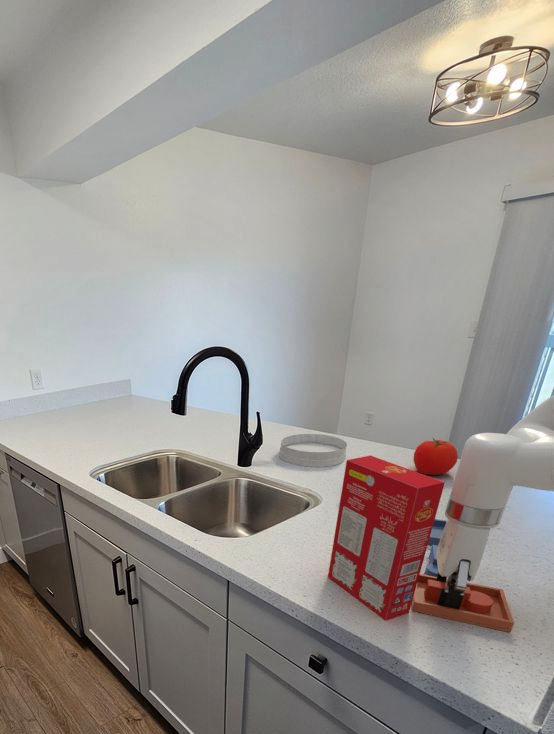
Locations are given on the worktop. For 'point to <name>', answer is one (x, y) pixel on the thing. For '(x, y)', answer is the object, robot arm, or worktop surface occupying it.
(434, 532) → the slate tray
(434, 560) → the slate spoon
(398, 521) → the food packaging
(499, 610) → the terracotta tray
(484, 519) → the robot arm
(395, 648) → the worktop surface
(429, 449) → the tomato
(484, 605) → the terracotta spoon
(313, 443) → the light grey ring
